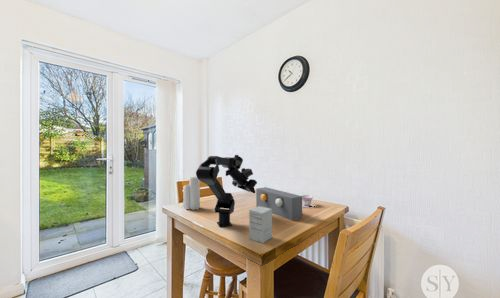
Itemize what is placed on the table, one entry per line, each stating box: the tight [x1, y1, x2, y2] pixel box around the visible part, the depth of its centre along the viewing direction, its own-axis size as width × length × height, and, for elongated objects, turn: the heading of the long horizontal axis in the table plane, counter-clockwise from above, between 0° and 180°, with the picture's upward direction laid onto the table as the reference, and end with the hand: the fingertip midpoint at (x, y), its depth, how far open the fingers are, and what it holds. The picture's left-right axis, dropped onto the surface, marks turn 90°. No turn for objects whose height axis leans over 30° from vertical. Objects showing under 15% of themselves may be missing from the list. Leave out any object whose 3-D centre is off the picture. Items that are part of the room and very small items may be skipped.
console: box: [255, 186, 303, 221], centre depth 129 cm, size 8×32×12 cm, turn 35°
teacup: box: [301, 194, 318, 209], centre depth 143 cm, size 12×12×6 cm
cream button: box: [275, 198, 283, 207], centre depth 121 cm, size 2×4×4 cm, turn 35°
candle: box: [182, 176, 201, 211], centre depth 138 cm, size 11×7×20 cm, turn 81°
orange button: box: [260, 194, 267, 201], centre depth 132 cm, size 2×4×4 cm, turn 35°
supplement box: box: [248, 206, 273, 244], centre depth 93 cm, size 7×7×13 cm
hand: (252, 191), depth 127 cm, fingers open, 5 cm apart
